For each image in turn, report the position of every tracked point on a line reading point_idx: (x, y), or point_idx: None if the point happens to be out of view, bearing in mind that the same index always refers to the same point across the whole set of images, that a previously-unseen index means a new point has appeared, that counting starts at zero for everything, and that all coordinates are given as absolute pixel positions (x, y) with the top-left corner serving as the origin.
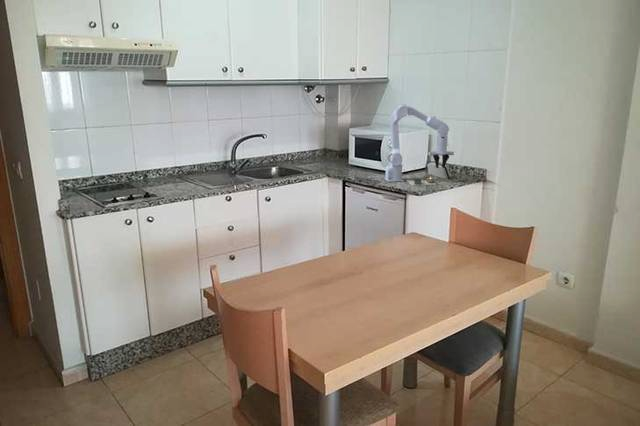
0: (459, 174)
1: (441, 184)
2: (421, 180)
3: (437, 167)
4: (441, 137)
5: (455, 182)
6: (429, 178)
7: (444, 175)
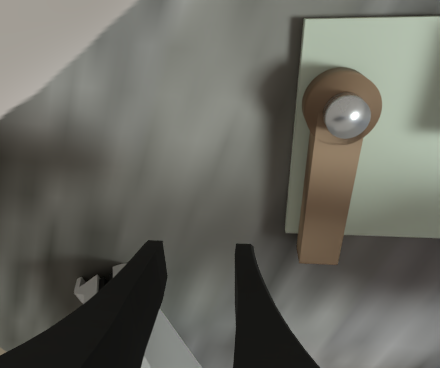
0: (17, 342)
1: (233, 56)
2: (379, 203)
3: (249, 248)
4: None
5: (73, 130)
6: (332, 171)
7: None
